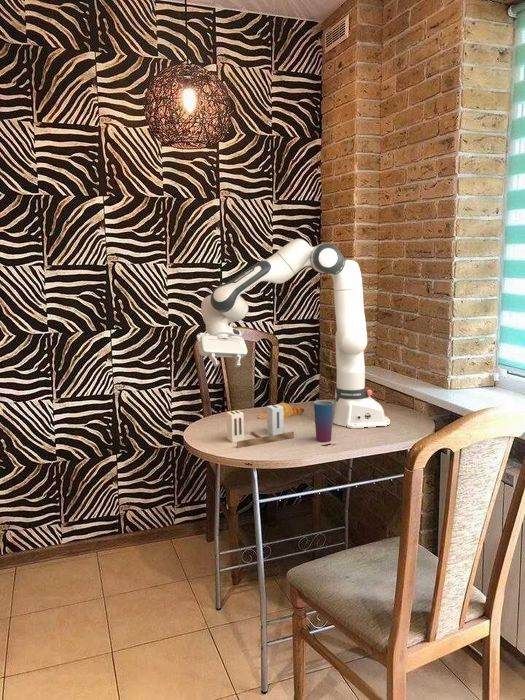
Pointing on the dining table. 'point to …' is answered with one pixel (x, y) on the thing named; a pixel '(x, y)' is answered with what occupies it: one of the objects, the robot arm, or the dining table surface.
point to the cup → (323, 420)
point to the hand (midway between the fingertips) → (227, 366)
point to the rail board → (264, 439)
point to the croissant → (285, 411)
